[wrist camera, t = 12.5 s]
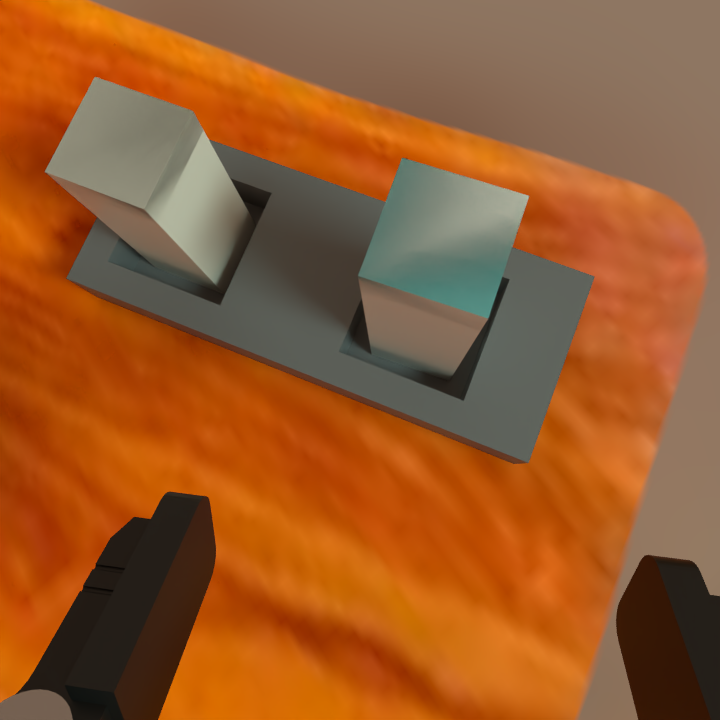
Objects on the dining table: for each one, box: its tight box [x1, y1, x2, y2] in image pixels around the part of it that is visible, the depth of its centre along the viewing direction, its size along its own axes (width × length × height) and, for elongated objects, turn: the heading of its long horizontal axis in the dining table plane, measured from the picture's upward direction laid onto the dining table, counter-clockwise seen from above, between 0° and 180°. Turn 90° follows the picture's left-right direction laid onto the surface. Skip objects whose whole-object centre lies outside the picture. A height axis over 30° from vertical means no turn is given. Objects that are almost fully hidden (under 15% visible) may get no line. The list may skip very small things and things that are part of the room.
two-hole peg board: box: [45, 77, 594, 464], centre depth 25 cm, size 23×9×10 cm, turn 68°
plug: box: [358, 158, 529, 381], centre depth 23 cm, size 4×4×12 cm
